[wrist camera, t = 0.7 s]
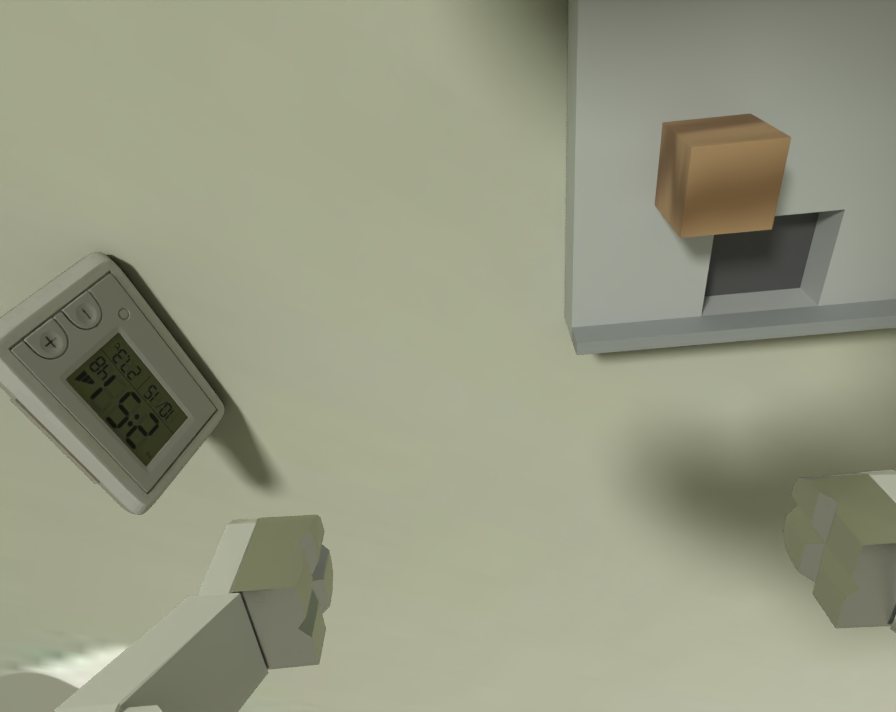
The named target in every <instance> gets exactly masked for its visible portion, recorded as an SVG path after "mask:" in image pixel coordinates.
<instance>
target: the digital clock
mask: <svg viewBox="0 0 896 712" xmlns="http://www.w3.org/2000/svg"><path fill="white" fill-rule="evenodd" d="M0 387H1V388H2V389H3V390H4V391H5V392H6V393H7V394H8V395H9V396H10V398H11V399H10V401H11V402H12V403H13V404H14V405H15V406H16V407H17V408H18V409H19V410H20V411H21V412H22V413H23V414H24V415H25V416H26V417H27V418H28V419H30V420H31V421H32V422H33V423H34V424H35V425H36V426H37V427H38V428H39V429H40V430H41V431H42V432H43V433H44V434H45V435H46V436H47V437H48V438H49V439H50V440H51V441H52V442H53V443H54V444H55V445H56V446H57V447H58V448H59V449H60V450H61V451H62V452H63V453H64V454H65V455H66V456H67V457H68V458H69V459H70V460H71V461H72V462H73V463H74V464H75V465H76V466H77V467H78V468H79V469H80V470H81V471H82V472H83V473H84V474H85V475H86V476H87V477H88V478H89V479H90V480H91V481H92V482H93V483H95V484H99V485H100V486H101V487H102V488H103V489H104V490H105V491H106V492H107V493H108V494H109V495H110V496H111V497H112V498H113V499H114V500H115V501H116V502H117V503H118V504H119V505H120V506H121V507H122V508H124V509H125V510H126V511H128V512H130V513H132V514H137V515H141V514H144V513H145V512H146V511H148V510H149V509H150V508H151V507H152V505H153V504H154V503H155V502H156V501H157V500H158V498H159V497H160V496H161V495H162V493H163V492H164V491H165V490H166V489H167V487H168V486H169V485H170V484H171V482H172V481H173V480H174V479H175V477H176V476H177V475H178V474H179V472H180V471H181V470H182V469H183V467H184V466H185V465H186V464H187V462H188V461H189V460H190V459H191V457H192V456H193V455H194V454H195V452H196V451H197V450H198V449H199V447H200V446H201V445H202V444H203V442H204V441H205V440H206V439H207V437H208V436H209V435H210V434H211V433H212V431H213V430H214V429H215V428H216V426H217V425H218V424H219V422H220V421H221V419H222V417H223V415H224V410H225V409H224V405H223V403H222V402H221V400H220V399H219V397H218V396H217V395H216V393H215V392H214V390H213V389H212V388H211V386H210V385H209V384H208V382H207V381H206V380H205V378H204V377H203V376H202V375H201V373H200V372H199V371H198V369H197V368H196V367H195V365H194V364H193V363H192V361H191V360H190V359H189V357H188V356H187V355H186V354H185V352H184V351H183V350H182V348H181V347H180V346H179V344H178V343H177V342H176V340H175V339H174V338H173V336H172V335H171V334H170V333H169V331H168V330H167V329H166V327H165V326H164V325H163V323H162V322H161V321H160V319H159V318H158V317H157V315H156V314H155V313H154V312H153V310H152V309H151V308H150V306H149V305H148V304H147V302H146V301H145V300H144V298H143V297H142V296H141V294H140V293H139V292H138V291H137V289H136V288H135V287H134V285H133V284H132V283H131V282H130V280H129V279H128V278H127V277H126V275H125V274H124V273H123V272H122V270H121V269H120V268H119V267H118V266H117V265H116V264H115V263H114V262H113V261H112V260H111V259H110V258H109V257H108V256H107V255H105V254H103V253H101V252H95V253H92V254H90V255H88V256H86V257H84V258H83V259H81V260H80V261H78V262H77V263H75V264H74V265H73V266H71V267H70V268H68V269H67V270H66V271H64V272H63V273H61V274H60V275H59V276H57V277H56V278H54V279H53V280H52V281H50V282H49V283H48V284H46V285H45V286H43V287H42V288H41V289H39V290H38V291H36V292H35V293H34V294H32V295H31V296H29V297H28V298H27V299H25V300H24V301H22V302H21V303H20V304H18V305H17V306H16V307H14V308H13V309H11V310H10V311H9V312H7V313H6V314H4V315H3V316H2V317H0Z"/></svg>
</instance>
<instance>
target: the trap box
mask: <svg viewBox="0 0 896 712" xmlns="http://www.w3.org/2000/svg"><path fill="white" fill-rule="evenodd" d="M750 113H751V114H752V115H754V116H756V117H758V118H759V119H761V120H763V121H764V122H766V123H768V124H770V125H771V126H773V127H775V128H776V129H778V130H780V131H782V132H783V133H785V134H787V135H788V136H790V137H791V142H790V147H789V151H788V156H787V161H786V165H785V170H784V175H783V180H782V184H781V189H780V194H779V198H778V203H777V208H776V212H775V217H774V222H773V226H772V229H771V230H760V231H749V232H739V233H728V234H717V235H707V236H696V237H685V238H680V237H679V236H678V234H677V233H676V232H675V230H674V229H673V228H672V227H671V225H670V224H669V223H668V222H667V220H666V219H665V218H664V217H663V215H662V214H661V213H660V211H659V210H658V209H657V208H656V206H655V196H656V186H657V175H658V165H659V154H660V144H661V134H662V123H663V122H672V121H681V120H691V119H701V118H711V117H721V116H730V115H740V114H750ZM565 321H566V324H567V327H568V330H569V333H570V336H571V339H572V342H573V345H574V348H575V351H576V354H577V355H584V354H596V353H608V352H619V351H631V350H642V349H654V348H666V347H677V346H689V345H701V344H712V343H724V342H735V341H747V340H759V339H770V338H782V337H793V336H805V335H817V334H828V333H840V332H852V331H863V330H875V329H886V328H896V0H568V70H567V155H566V239H565Z"/></svg>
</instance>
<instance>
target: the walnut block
mask: <svg viewBox="0 0 896 712" xmlns="http://www.w3.org/2000/svg"><path fill="white" fill-rule="evenodd" d="M790 142H791V137H790V136H788V135H787V134H785V133H783V132H782V131H780V130H778V129H776V128H775V127H773V126H771V125H770V124H768V123H766V122H764V121H763V120H761V119H759V118H758V117H756V116H754V115H752V114H751V113H750V114H740V115H730V116H721V117H711V118H701V119H691V120H681V121H672V122H663V123H662V134H661V144H660V154H659V165H658V175H657V186H656V196H655V206H656V208H657V209H658V210H659V211H660V213H661V214H662V215H663V217H664V218H665V219H666V220H667V222H668V223H669V224H670V225H671V227H672V228H673V229H674V230H675V232H676V233H677V234H678V236H679V237H680V238H685V237H696V236H707V235H717V234H728V233H739V232H749V231H760V230H771V229H772V226H773V222H774V217H775V212H776V208H777V203H778V198H779V194H780V189H781V184H782V180H783V175H784V170H785V165H786V161H787V156H788V151H789V147H790Z"/></svg>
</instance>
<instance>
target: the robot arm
mask: <svg viewBox="0 0 896 712" xmlns="http://www.w3.org/2000/svg"><path fill="white" fill-rule="evenodd" d="M791 497H792V498H793V500H794V501H795V502H796V504H797V506H796V507H795V508H794V509H793V510H792V511H791V512H790V513H789V514H788V515H787V516H786V519H785V525H784V530H783V532H784V539H785V546H786V549H787V552H788V554H789V557H790V559H791V561H792V562H793V564H794V566H795V567H796V569H797V570H798V572H800V573H801V574H803V575H804V576H806V577H808V578H809V579H811V580H813V581H814V582H815V585H814V590H813V595H814V596H815V598H816V599H817V601H818V602H819V604H820V605H821V607H822V608H823V610H824V611H825V613H826V615H827V616H828V618H829V619H830V621H831V622H832V624H833V625H834V627H835V628H852V627H876V626H891V628H890V629H892V630H893V631H894V632H896V471H894V470H892V469H889V470H879V471H868V472H860V473H849V474H837V475H826V476H814V477H802V478H799V479H798V480H797V481H796V482H795V484H794V486H793V490H792V494H791ZM323 536H324V528H323V524H322V521H321V517H319V516H318V515H303V516H284V517H265V518H261V519H238V520H232V521H231V522H230V523H229V524H228V525H227V526H226V528H225V530H224V533H223V535H222V537H221V540H220V542H219V544H218V547H217V549H216V552H215V554H214V556H213V559H212V561H211V564H210V566H209V568H208V571H207V573H206V576H205V578H204V580H203V583H202V585H201V588H200V590H199V592H198V595H197V596H190V597H187V598H186V599H185V600H184V601H183V602H181V603H180V604H179V605H178V606H177V607H175V608H174V609H173V610H172V611H171V612H170V613H168V614H167V615H166V616H165V617H164V618H163V619H161V620H160V621H159V622H158V623H157V624H155V625H154V626H153V627H152V628H151V629H150V630H148V631H147V632H146V633H145V634H144V635H142V636H141V637H140V638H139V639H138V640H137V641H135V642H134V643H133V644H132V645H131V646H129V647H128V648H127V649H126V650H125V651H124V652H122V653H121V654H120V655H119V656H118V657H117V658H115V659H114V660H113V661H112V662H111V663H109V664H108V665H107V666H106V667H105V668H104V669H102V670H101V671H100V672H99V673H98V674H96V675H95V676H94V677H93V678H92V679H91V680H89V681H88V682H87V683H86V684H85V685H83V686H82V687H81V688H80V689H79V690H78V691H76V692H75V693H74V694H73V695H72V696H71V697H69V698H68V699H67V700H66V701H65V702H63V703H62V704H61V705H60V706H59V707H58V708H57V709H55V711H54V712H238V711H239V710H240V708H241V707H242V706H243V705H244V703H245V702H246V701H247V699H248V698H249V697H250V695H251V694H252V693H253V692H254V690H255V689H256V688H257V686H258V685H259V684H260V683H261V681H262V680H263V679H264V677H265V676H266V675H267V674H268V669H278V668H288V667H298V666H308V665H318V664H319V663H320V658H321V653H322V647H323V642H324V637H325V631H326V627H325V623H324V619H323V615H322V614H323V613H324V612H325V611H326V610H327V609H328V607H329V606H330V603H331V597H332V590H333V569H332V560H331V556H330V552H329V550H328V549H327V548H326V547H324V546H323V545H322V541H323Z"/></svg>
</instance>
